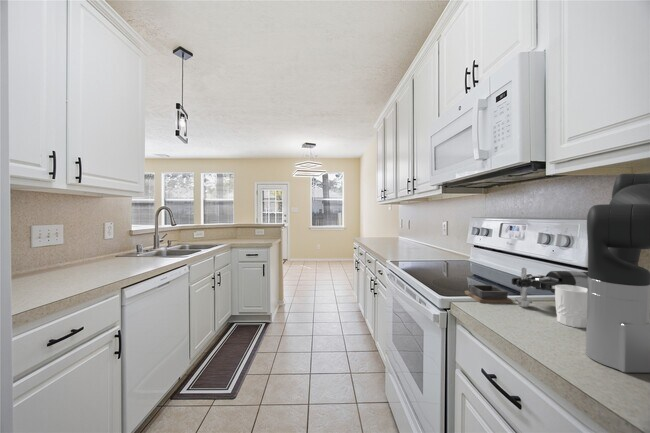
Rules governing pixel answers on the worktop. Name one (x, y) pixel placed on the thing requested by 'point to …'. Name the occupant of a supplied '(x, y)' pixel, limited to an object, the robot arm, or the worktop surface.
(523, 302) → the screw
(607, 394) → the worktop surface
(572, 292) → the white cup
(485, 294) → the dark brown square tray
